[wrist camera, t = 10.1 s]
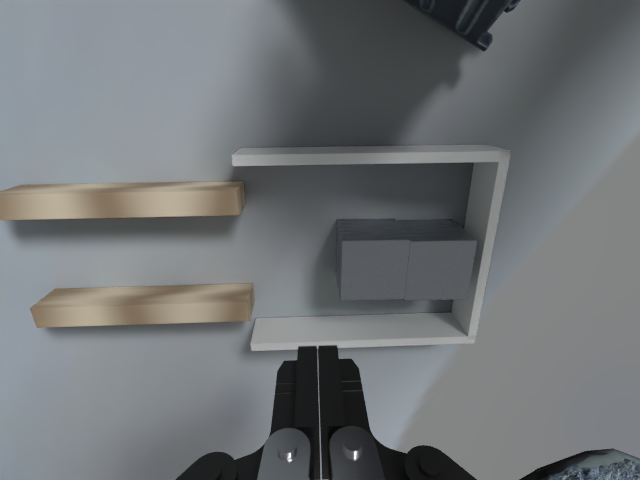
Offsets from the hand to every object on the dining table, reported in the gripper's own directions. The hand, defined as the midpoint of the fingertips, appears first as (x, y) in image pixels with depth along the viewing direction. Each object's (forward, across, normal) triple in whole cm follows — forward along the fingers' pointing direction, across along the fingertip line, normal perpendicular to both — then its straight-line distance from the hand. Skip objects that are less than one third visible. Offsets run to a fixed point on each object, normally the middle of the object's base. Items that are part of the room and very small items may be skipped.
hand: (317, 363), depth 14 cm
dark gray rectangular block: (+12, -4, 0) cm, 13 cm away
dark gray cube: (+12, -8, +1) cm, 14 cm away
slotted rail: (+12, +11, 0) cm, 16 cm away
